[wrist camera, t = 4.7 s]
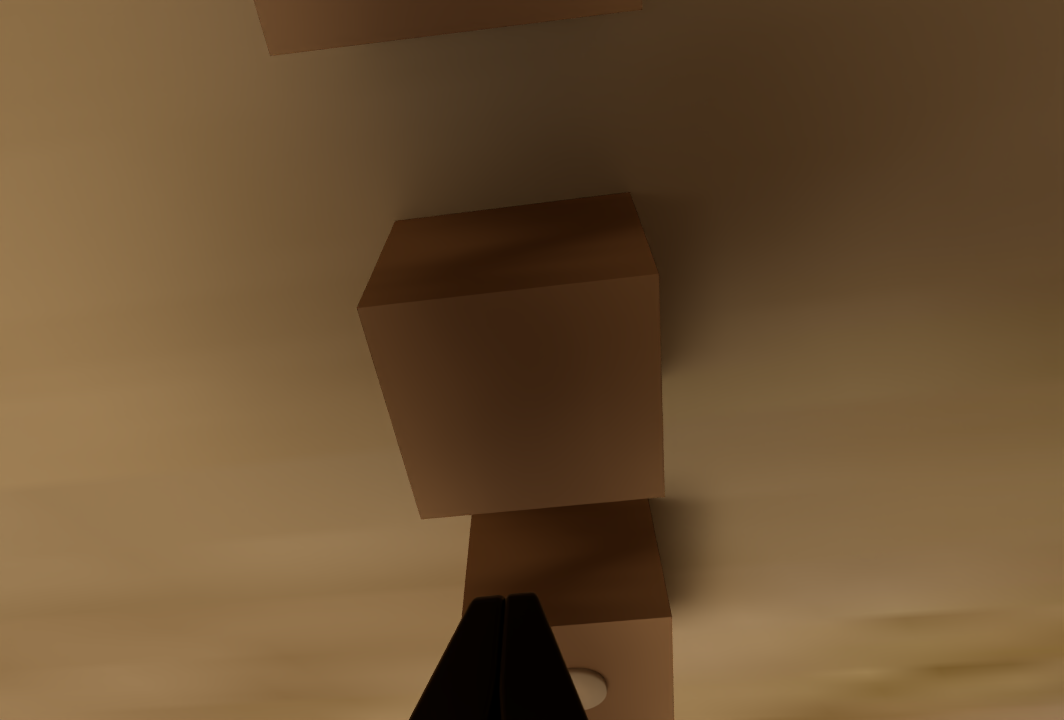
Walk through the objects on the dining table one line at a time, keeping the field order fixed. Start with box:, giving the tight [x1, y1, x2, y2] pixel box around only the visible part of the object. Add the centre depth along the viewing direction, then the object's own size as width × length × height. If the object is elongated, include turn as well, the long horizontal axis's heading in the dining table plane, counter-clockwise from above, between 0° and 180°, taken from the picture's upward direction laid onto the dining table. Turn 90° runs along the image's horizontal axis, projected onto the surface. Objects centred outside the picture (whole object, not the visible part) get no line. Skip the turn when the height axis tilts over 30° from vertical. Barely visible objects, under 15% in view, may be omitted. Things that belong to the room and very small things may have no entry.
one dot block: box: [462, 498, 674, 720], centre depth 19 cm, size 5×5×4 cm
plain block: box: [357, 192, 665, 519], centre depth 14 cm, size 5×5×4 cm
